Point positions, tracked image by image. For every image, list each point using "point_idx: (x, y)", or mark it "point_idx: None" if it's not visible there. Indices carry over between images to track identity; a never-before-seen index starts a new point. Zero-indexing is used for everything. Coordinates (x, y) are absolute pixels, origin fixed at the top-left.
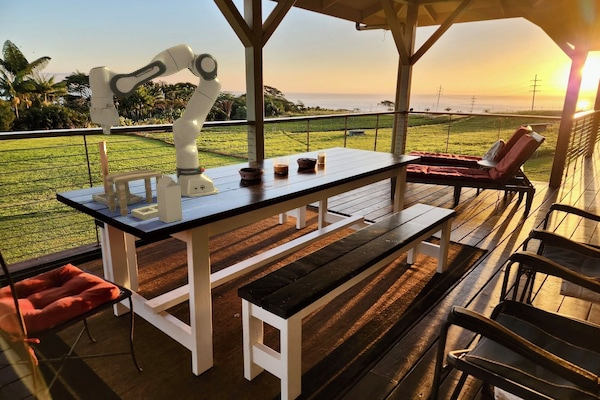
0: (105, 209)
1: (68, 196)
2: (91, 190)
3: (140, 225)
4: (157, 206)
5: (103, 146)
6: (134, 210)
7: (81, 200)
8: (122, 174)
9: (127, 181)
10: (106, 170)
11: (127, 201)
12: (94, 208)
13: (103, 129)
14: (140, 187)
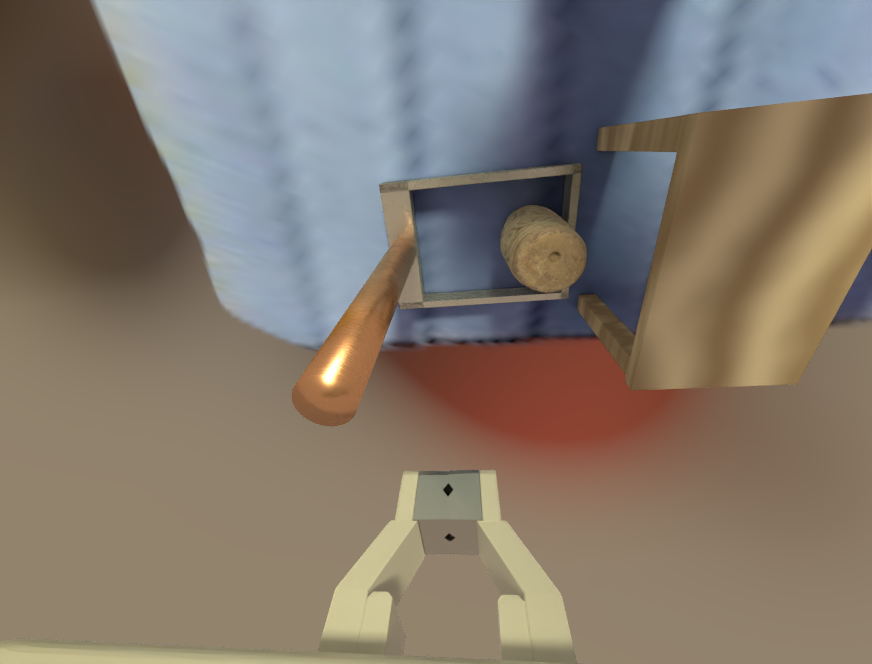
0: (549, 311)
1: (298, 337)
2: (239, 249)
3: None
4: None
5: (367, 378)
6: None
7: None
8: (697, 325)
9: (582, 240)
10: (400, 290)
11: None
12: (509, 331)
13: (417, 568)
14: (281, 10)
